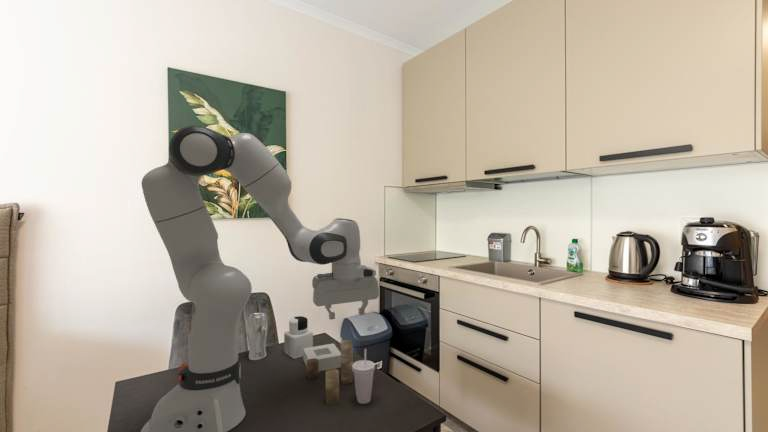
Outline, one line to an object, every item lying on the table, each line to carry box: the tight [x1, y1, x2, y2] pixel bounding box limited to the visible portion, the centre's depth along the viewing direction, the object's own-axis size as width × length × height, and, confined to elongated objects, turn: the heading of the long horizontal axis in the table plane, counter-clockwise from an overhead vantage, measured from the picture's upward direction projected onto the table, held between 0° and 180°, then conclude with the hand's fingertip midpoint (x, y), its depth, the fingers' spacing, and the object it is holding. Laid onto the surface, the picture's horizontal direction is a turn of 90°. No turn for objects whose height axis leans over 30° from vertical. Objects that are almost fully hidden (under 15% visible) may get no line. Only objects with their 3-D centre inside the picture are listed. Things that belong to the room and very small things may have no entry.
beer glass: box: [246, 312, 269, 361], centre depth 120 cm, size 7×7×15 cm
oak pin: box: [325, 368, 340, 406], centre depth 91 cm, size 4×4×8 cm
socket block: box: [302, 343, 341, 373], centre depth 114 cm, size 11×11×4 cm
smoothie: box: [352, 348, 376, 405], centre depth 92 cm, size 6×6×14 cm
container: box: [283, 315, 314, 360], centre depth 123 cm, size 8×8×13 cm
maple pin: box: [340, 339, 354, 385], centre depth 102 cm, size 4×4×12 cm
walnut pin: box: [306, 358, 320, 380], centre depth 105 cm, size 4×4×5 cm
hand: (347, 316), depth 102 cm, fingers open, 8 cm apart
